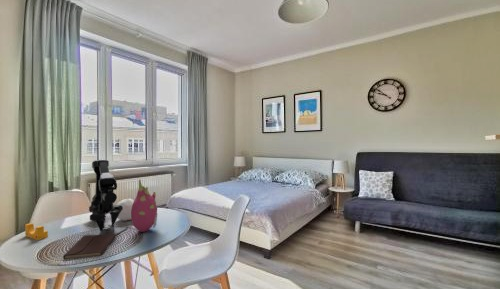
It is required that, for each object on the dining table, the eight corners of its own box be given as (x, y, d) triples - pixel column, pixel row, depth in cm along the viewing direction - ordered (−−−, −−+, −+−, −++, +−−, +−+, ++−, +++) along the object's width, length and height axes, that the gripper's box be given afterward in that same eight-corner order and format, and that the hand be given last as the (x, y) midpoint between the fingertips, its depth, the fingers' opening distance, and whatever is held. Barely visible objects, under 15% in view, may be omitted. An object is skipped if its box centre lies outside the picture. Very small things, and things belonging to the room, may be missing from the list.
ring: (106, 229, 134) (105, 224, 134) (116, 229, 133) (116, 224, 133) (97, 234, 127) (97, 228, 127) (108, 234, 127) (108, 229, 127)
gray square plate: (104, 227, 138) (104, 221, 138) (126, 228, 137) (126, 222, 136) (85, 237, 124) (85, 230, 124) (110, 238, 123) (110, 232, 123)
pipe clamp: (47, 237, 125) (47, 225, 125) (37, 240, 121) (37, 227, 121) (35, 233, 130) (35, 222, 130) (25, 236, 126) (25, 224, 126)
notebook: (115, 236, 124) (115, 232, 124) (102, 255, 105) (102, 250, 105) (83, 239, 121) (83, 235, 120) (63, 259, 101) (63, 254, 101)
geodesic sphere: (128, 205, 164) (119, 192, 155) (146, 206, 162) (138, 192, 153) (115, 224, 153) (105, 210, 144) (135, 225, 150) (126, 212, 142)
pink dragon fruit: (156, 235, 127) (156, 180, 126) (128, 238, 123) (128, 182, 122) (158, 224, 144) (158, 176, 143) (134, 226, 140) (133, 177, 139)
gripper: (105, 195, 140) (105, 221, 140) (80, 203, 121) (80, 233, 122) (123, 195, 139) (123, 221, 139) (99, 204, 120) (100, 234, 121)
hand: (107, 227), depth 130 cm, fingers open, 9 cm apart
